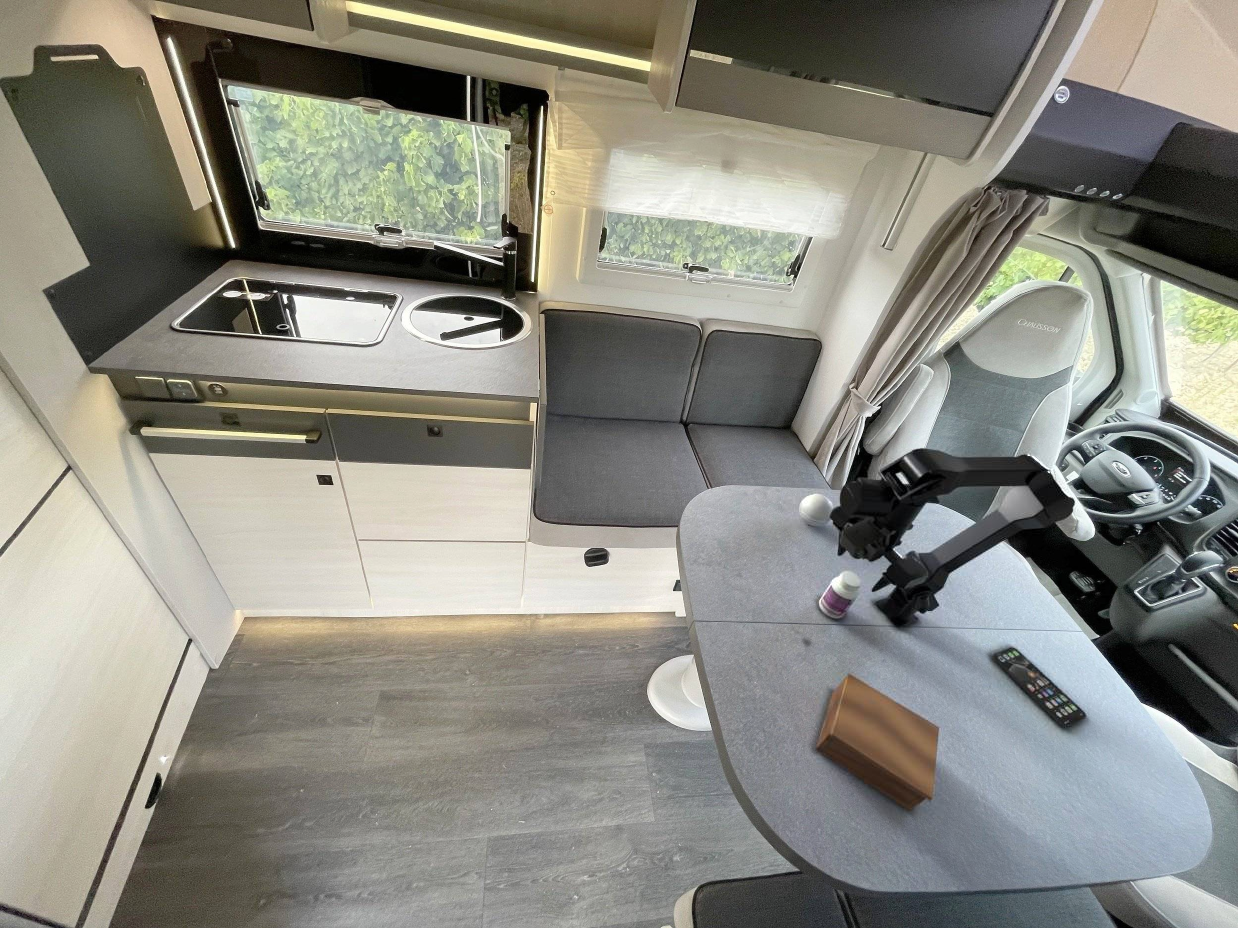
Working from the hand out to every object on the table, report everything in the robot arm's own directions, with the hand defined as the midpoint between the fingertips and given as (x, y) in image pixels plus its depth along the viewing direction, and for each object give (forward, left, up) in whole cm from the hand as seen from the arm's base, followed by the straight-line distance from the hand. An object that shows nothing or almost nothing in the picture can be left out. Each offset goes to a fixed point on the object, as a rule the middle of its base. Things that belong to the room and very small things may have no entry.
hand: (856, 572), depth 97 cm
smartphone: (-29, +27, -12) cm, 41 cm away
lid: (+14, +24, -6) cm, 29 cm away
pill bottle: (0, 0, -12) cm, 12 cm away
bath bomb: (-14, -23, -12) cm, 29 cm away
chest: (+14, +24, -12) cm, 30 cm away
